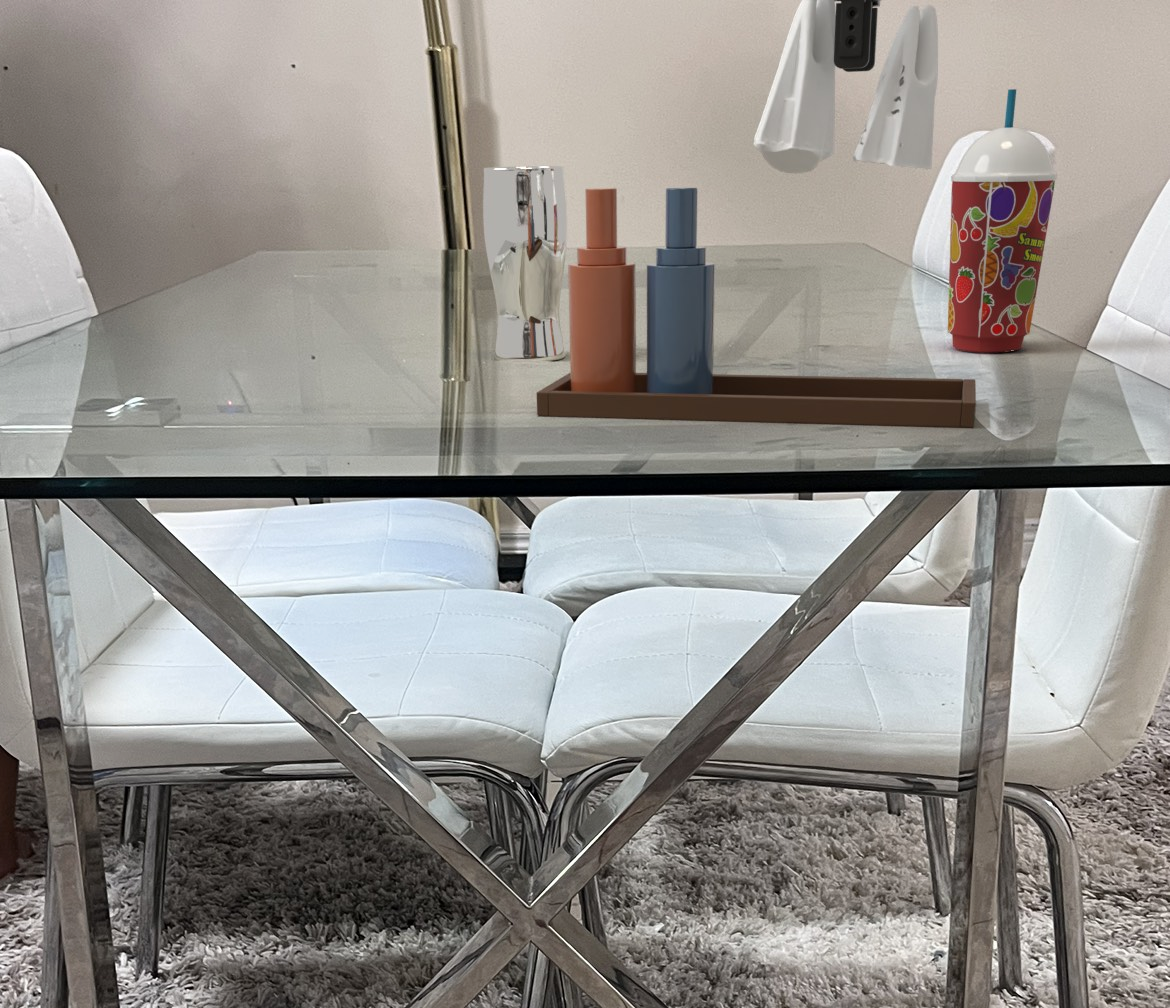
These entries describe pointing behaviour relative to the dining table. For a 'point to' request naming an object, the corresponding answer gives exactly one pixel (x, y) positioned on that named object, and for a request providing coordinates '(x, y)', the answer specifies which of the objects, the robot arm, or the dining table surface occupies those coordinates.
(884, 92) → the shaker set
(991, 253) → the smoothie
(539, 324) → the beer glass
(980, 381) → the dining table surface
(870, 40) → the robot arm
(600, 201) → the terracotta bottle
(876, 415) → the tray
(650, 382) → the slate-blue bottle
